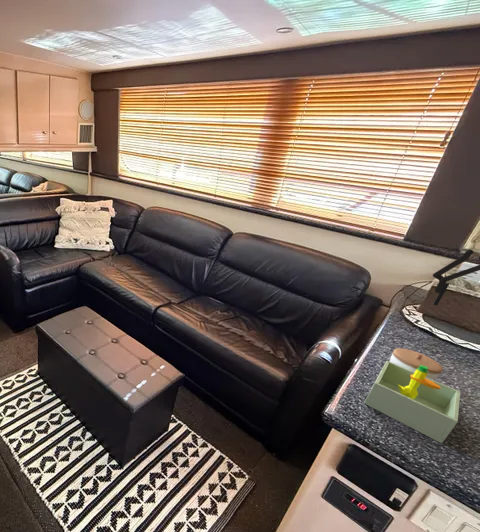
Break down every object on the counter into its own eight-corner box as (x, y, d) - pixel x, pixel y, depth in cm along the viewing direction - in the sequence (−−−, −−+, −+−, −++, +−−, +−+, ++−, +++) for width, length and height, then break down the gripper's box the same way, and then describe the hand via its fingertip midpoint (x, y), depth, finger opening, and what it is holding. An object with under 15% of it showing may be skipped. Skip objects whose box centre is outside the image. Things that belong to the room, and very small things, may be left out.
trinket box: (425, 397, 91) (442, 370, 87) (378, 374, 99) (392, 349, 96) (433, 384, 97) (449, 359, 93) (388, 364, 105) (401, 340, 101)
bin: (446, 411, 86) (460, 391, 84) (441, 443, 75) (457, 421, 73) (376, 379, 97) (386, 360, 94) (363, 403, 86) (375, 382, 83)
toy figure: (424, 409, 84) (448, 373, 80) (423, 415, 82) (447, 379, 78) (391, 393, 89) (412, 359, 85) (389, 399, 87) (410, 363, 83)
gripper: (601, 257, 72) (546, 339, 77) (445, 228, 90) (407, 296, 95) (615, 254, 67) (554, 342, 72) (447, 224, 85) (406, 296, 90)
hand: (471, 316), depth 83 cm, fingers open, 13 cm apart
